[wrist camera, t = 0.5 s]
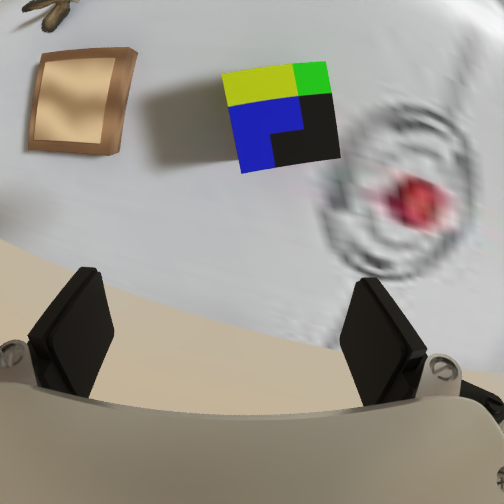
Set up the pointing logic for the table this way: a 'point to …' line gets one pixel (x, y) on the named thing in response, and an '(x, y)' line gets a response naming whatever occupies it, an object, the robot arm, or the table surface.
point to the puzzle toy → (282, 115)
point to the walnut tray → (81, 100)
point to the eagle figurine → (54, 16)
